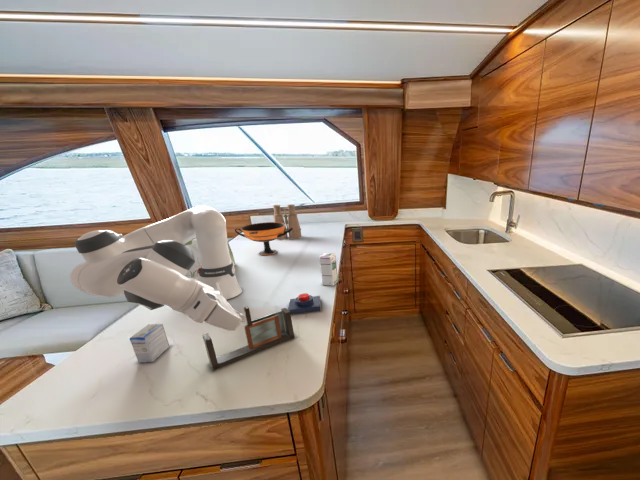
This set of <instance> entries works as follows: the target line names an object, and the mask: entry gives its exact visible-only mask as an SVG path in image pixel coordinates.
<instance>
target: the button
mask: <svg viewBox="0 0 640 480" xmlns="http://www.w3.org/2000/svg"><path fill="white" fill-rule="evenodd" d="M309 295H310V294H309V293H307V292H305V293H300V294H299V295H298V296H297V297H299V301H306V300H309Z"/></svg>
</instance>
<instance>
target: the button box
mask: <svg viewBox="0 0 640 480" xmlns="http://www.w3.org/2000/svg"><path fill="white" fill-rule="evenodd" d="M287 309H288V310H289V311H290V313H291V316H293V315H300V314H301V315H302V314H308V313H309V314H310V313H316V312H321V295H314V296H313V295H311V294H309V300H306V301H299V297H298V296H297V297H295V298H290V299H289V303H288V307H287Z"/></svg>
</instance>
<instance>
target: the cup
mask: <svg viewBox="0 0 640 480" xmlns="http://www.w3.org/2000/svg"><path fill="white" fill-rule="evenodd" d="M285 226H286V224H284V223H279V222H274V221H269V222H268V221H267V222H266V221H265V222H258V223H251V224H246V225H244V226H242V227H241V228H235V229H234V232H235V233H236V234H237V235H238V236H241V237H242V238H246V239H248V240H250V241H253V242H257V243H263V247H264V248H263V250H261V251H260V252H259V253H258V254H259V255H261V256H269V255H274V254H276V253H277V252H278V251H277V250H276V249H271V246H270V242H273V241H276V240H278V239H277V238H279V237H281V236H284V235H286V234H287V235H288V234H289V232H290V231H291V230H292V229H293V228H291V229H290V230H288V231H284V227H285ZM238 231H239V232H238ZM241 232H242V233H241Z"/></svg>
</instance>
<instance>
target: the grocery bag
mask: <svg viewBox="0 0 640 480" xmlns="http://www.w3.org/2000/svg"><path fill="white" fill-rule="evenodd" d="M227 242H228V248H229V253H230V258H231V262H233V266H234V267H235V266H236V261H235V256H234V253H233V250H232V248H231V246H230V242H229V241H228V240H227ZM184 245H185V246H187V247H189V248H190V249H191V250H192V252H193V255H194V258H195V263H194V264H193V266H192V267H191V268H190V269H189V270H188V272H187V273H186V275H185V276H186V277H188V278H193V279H196V278H197V277H198V276H199V273H198V274H197V272H198V271H197V270H198V269H199V268H200V266H201V265H202V264H201V260H200V256H199V253H198V246H197V240H196V238H194V239H192V240H190V241H189V242H187V243H186V244H184Z"/></svg>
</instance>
